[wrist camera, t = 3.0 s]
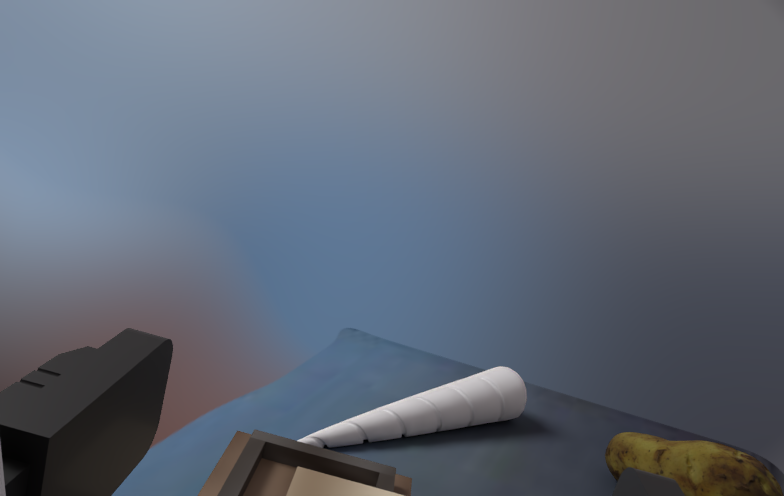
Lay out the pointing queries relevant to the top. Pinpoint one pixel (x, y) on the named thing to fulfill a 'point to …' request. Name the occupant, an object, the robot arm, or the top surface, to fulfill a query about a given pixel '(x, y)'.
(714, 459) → the potato
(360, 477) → the walnut base
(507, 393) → the unicorn horn
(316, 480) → the maple pillar
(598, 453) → the top surface
